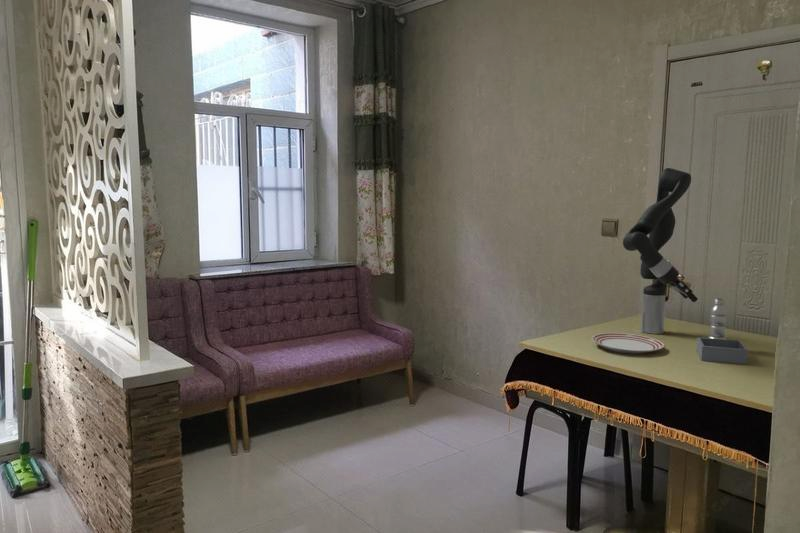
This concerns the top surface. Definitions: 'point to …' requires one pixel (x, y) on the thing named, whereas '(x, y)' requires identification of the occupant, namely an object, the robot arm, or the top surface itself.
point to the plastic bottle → (718, 319)
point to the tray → (722, 350)
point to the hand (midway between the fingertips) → (691, 298)
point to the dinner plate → (627, 343)
